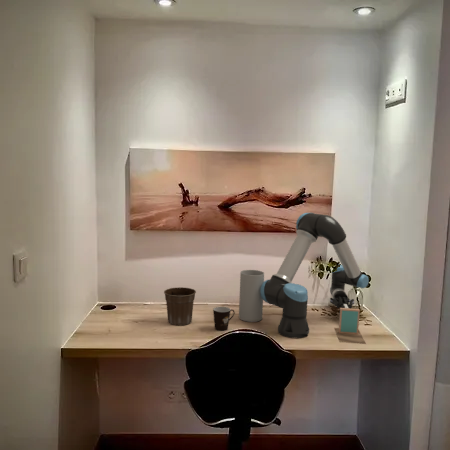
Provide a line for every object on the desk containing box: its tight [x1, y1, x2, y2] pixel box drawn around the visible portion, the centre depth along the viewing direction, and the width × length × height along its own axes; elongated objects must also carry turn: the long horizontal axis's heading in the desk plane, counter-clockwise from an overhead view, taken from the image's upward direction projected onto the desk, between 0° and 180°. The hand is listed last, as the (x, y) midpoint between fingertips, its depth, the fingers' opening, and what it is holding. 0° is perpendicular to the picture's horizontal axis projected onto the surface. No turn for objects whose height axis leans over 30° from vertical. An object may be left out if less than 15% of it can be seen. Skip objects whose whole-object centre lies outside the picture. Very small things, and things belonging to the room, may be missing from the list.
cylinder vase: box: [238, 269, 265, 323], centre depth 240 cm, size 12×12×25 cm
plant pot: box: [163, 287, 197, 326], centre depth 232 cm, size 16×16×16 cm
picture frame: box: [338, 307, 361, 334], centre depth 221 cm, size 2×9×12 cm, turn 84°
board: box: [333, 327, 367, 345], centre depth 219 cm, size 19×12×1 cm, turn 174°
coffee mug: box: [212, 306, 236, 332], centre depth 225 cm, size 12×9×10 cm
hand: (346, 310), depth 229 cm, fingers closed
